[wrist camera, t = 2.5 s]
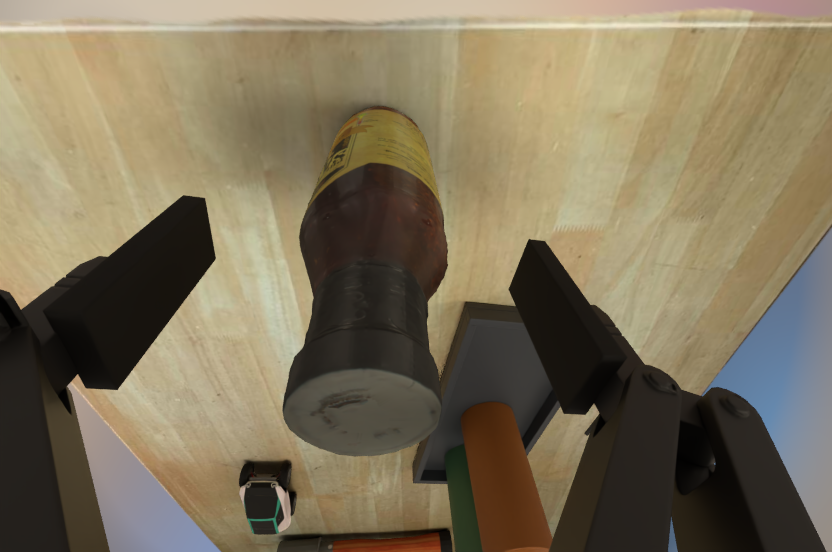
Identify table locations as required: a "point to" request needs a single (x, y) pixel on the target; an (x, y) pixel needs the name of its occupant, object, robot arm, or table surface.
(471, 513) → the green bottle
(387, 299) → the sauce bottle
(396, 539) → the stick grenade
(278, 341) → the table surface
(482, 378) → the tray
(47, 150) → the table surface
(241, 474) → the toy car
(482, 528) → the amber bottle
